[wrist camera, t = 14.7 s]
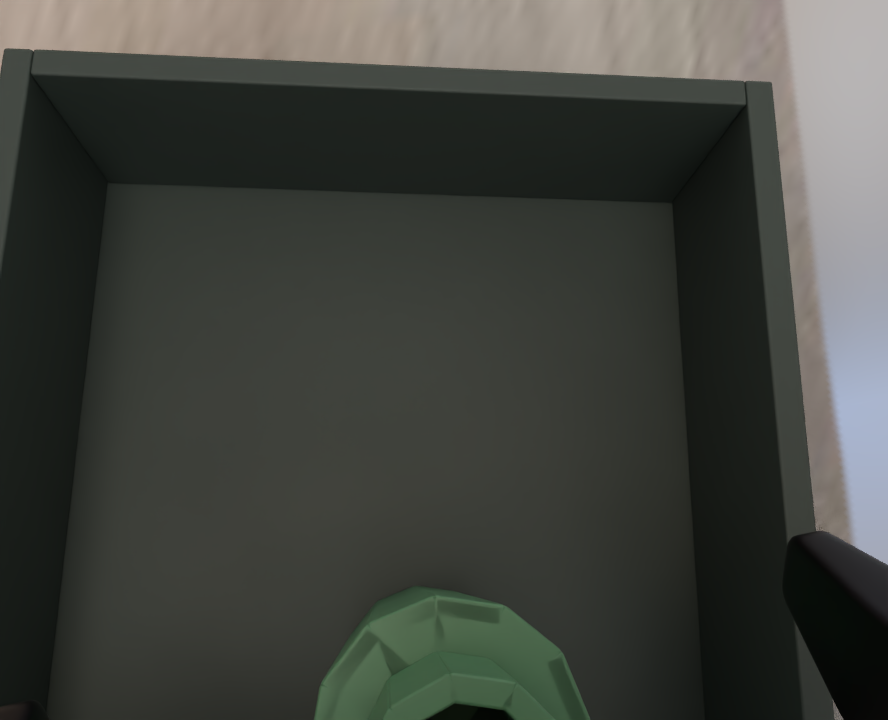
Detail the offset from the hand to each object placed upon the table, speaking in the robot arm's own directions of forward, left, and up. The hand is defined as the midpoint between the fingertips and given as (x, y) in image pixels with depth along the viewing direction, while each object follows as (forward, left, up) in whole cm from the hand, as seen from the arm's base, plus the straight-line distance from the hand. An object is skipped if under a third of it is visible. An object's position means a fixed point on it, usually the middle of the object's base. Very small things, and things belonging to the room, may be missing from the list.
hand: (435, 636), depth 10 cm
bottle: (-1, +1, -10) cm, 10 cm away
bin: (+3, -2, -11) cm, 11 cm away
